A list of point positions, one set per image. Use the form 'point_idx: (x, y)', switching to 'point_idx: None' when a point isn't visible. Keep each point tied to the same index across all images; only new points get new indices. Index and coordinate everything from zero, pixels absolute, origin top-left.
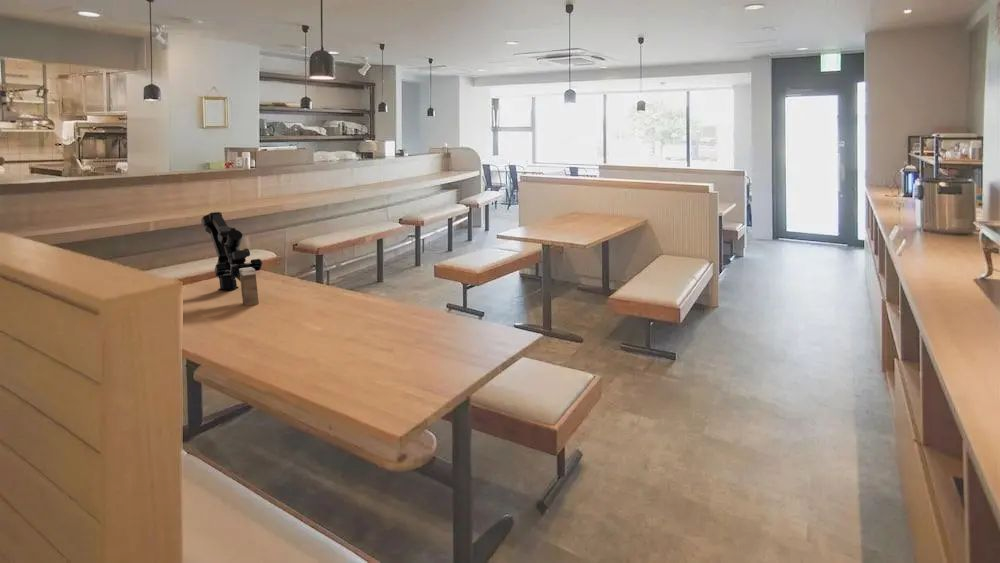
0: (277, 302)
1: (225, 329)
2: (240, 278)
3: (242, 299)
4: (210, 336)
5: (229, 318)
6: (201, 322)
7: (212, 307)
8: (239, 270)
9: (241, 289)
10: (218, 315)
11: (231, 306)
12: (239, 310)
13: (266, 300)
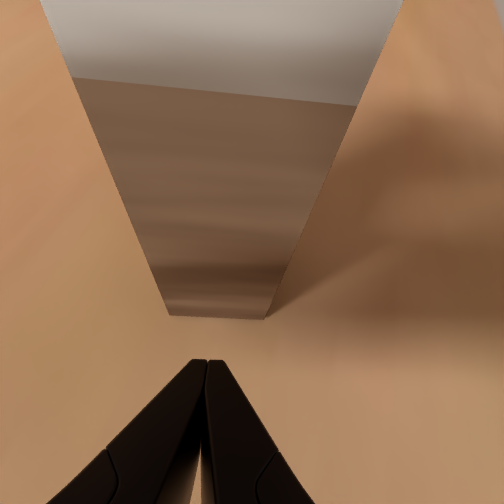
0: (70, 200)
1: (407, 34)
2: (321, 170)
3: (268, 307)
4: (450, 17)
5: (385, 113)
6: (499, 135)
7: (476, 373)
8: (389, 17)
9: (285, 266)
10: (431, 178)
11: (348, 305)
12: (322, 191)
13: (85, 296)
